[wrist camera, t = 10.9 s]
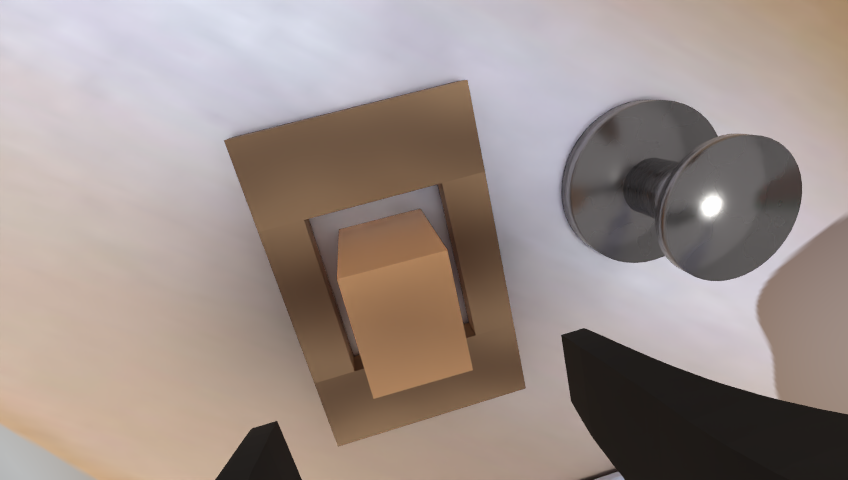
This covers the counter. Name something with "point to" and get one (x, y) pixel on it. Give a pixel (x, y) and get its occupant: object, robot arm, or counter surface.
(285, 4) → the counter surface
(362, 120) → the board
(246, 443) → the robot arm
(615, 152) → the bobbin
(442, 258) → the block
